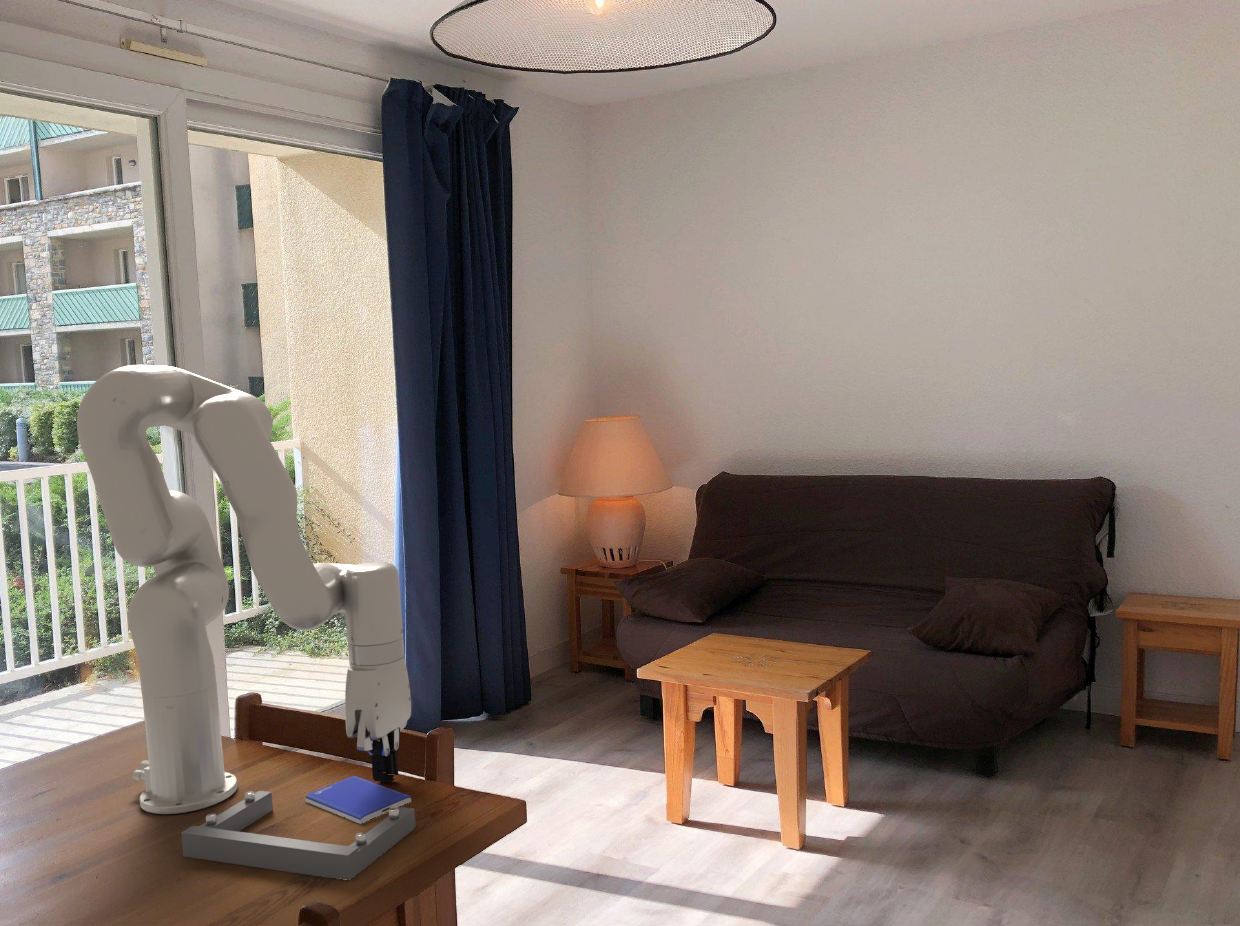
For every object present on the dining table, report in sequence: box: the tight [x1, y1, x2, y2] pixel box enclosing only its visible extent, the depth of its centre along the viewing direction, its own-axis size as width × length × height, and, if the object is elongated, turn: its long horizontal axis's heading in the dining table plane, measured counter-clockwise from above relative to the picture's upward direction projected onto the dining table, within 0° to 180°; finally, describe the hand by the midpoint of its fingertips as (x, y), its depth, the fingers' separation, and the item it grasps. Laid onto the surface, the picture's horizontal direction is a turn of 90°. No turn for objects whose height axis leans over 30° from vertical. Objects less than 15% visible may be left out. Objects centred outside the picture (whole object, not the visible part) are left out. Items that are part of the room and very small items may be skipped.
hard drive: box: [305, 775, 412, 825], centre depth 139 cm, size 2×8×12 cm
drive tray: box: [180, 790, 416, 881], centre depth 127 cm, size 24×14×4 cm, turn 70°
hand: (385, 779), depth 145 cm, fingers closed
